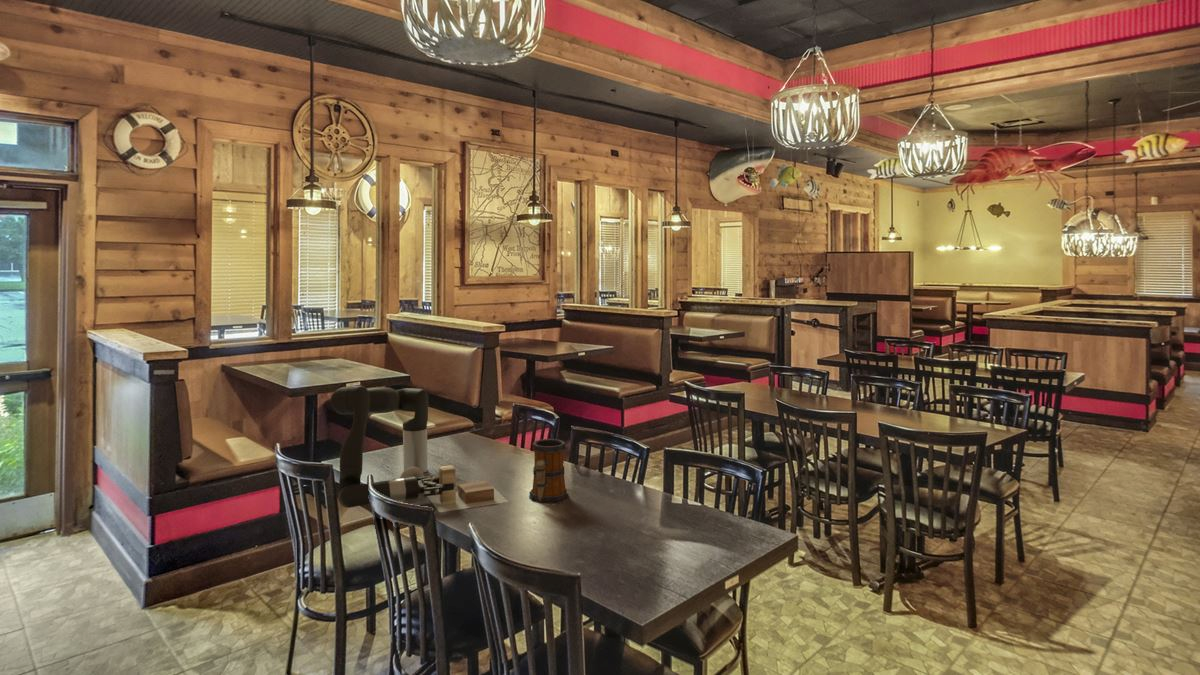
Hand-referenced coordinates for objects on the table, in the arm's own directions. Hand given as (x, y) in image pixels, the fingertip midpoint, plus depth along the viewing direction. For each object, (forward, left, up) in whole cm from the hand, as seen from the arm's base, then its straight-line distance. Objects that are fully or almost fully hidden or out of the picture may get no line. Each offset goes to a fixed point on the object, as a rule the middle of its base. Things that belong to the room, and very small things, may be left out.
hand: (450, 482), depth 237 cm
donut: (-15, -10, -7) cm, 20 cm away
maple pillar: (0, -1, -7) cm, 7 cm away
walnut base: (0, +9, -7) cm, 11 cm away
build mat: (0, +6, -7) cm, 9 cm away
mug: (+12, +31, -7) cm, 34 cm away
